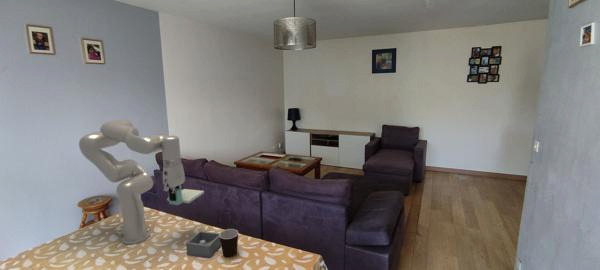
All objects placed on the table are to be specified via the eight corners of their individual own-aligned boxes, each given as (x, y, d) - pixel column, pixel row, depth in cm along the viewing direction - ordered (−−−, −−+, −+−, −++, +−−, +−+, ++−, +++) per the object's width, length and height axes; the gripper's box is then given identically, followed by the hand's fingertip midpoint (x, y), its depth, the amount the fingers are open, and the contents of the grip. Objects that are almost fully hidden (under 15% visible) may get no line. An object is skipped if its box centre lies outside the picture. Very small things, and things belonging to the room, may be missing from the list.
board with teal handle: (184, 191, 149) (183, 178, 148) (204, 193, 146) (203, 180, 145) (163, 203, 134) (161, 189, 132) (184, 205, 131) (183, 191, 129)
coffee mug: (234, 260, 124) (233, 239, 123) (217, 258, 126) (215, 237, 124) (244, 245, 136) (243, 226, 134) (228, 243, 137) (227, 225, 136)
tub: (187, 254, 129) (185, 243, 128) (200, 241, 139) (199, 230, 138) (210, 258, 126) (209, 246, 125) (222, 244, 136) (221, 233, 135)
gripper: (166, 167, 121) (170, 207, 124) (190, 158, 137) (192, 193, 140) (152, 166, 123) (156, 205, 126) (176, 157, 138) (179, 192, 142)
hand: (175, 198), depth 133 cm, fingers closed on board with teal handle, 3 cm apart
